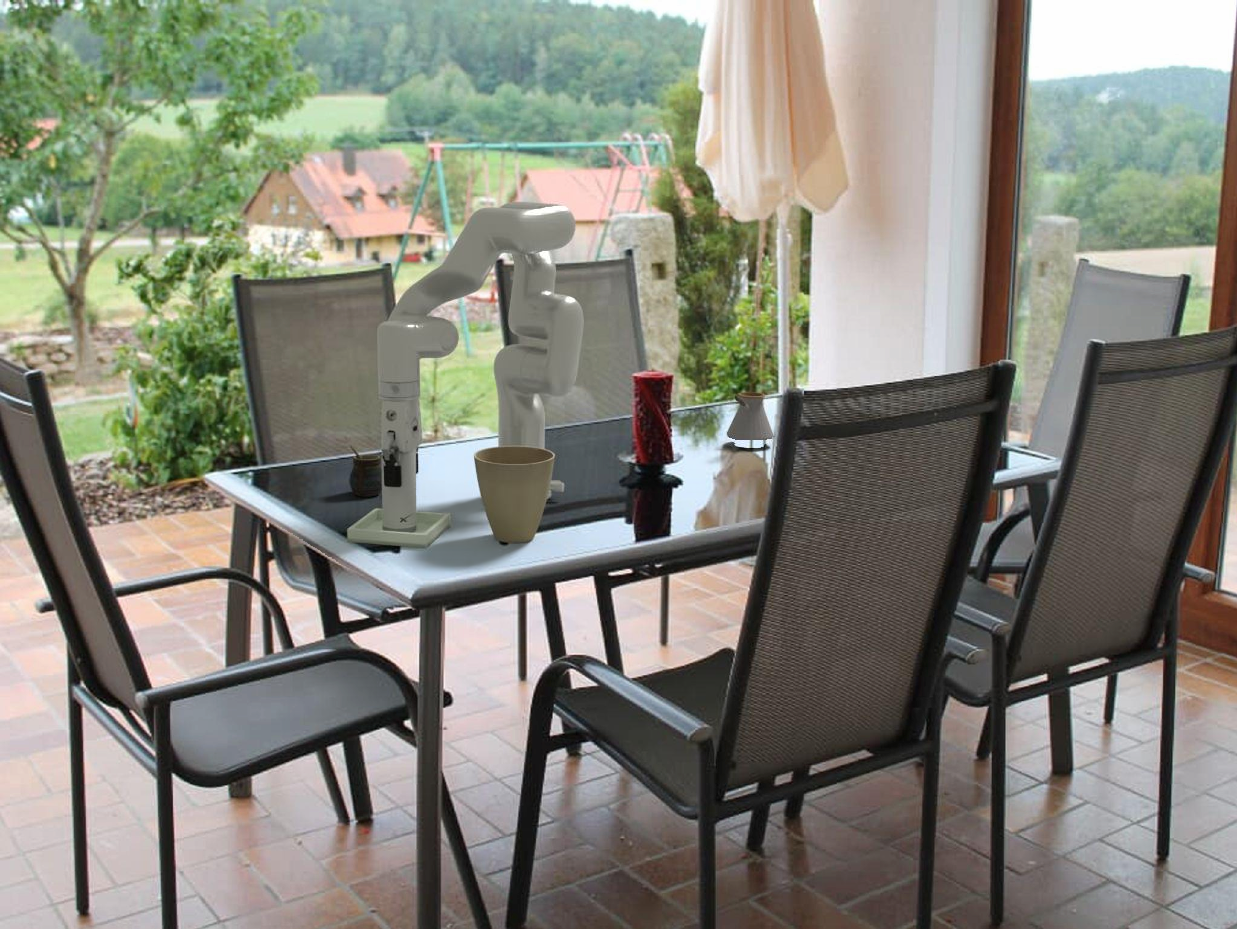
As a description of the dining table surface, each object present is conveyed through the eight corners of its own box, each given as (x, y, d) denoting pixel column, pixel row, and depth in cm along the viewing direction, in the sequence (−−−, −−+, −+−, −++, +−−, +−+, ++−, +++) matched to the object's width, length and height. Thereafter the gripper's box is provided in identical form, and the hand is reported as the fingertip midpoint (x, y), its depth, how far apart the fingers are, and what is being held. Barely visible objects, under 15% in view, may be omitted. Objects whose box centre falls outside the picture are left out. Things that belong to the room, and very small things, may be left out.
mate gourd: (377, 500, 284) (377, 452, 281) (342, 497, 285) (341, 449, 283) (389, 491, 291) (389, 444, 288) (355, 488, 292) (354, 442, 290)
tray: (450, 526, 266) (450, 513, 266) (426, 547, 252) (426, 535, 251) (375, 520, 269) (375, 508, 268) (347, 541, 254) (347, 529, 254)
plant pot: (482, 524, 268) (482, 443, 264) (558, 529, 266) (560, 447, 263) (465, 546, 253) (466, 461, 250) (546, 551, 252) (548, 465, 248)
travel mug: (411, 536, 257) (410, 429, 252) (377, 533, 258) (376, 427, 253) (422, 527, 263) (422, 423, 258) (389, 524, 264) (388, 420, 259)
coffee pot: (733, 439, 351) (736, 380, 347) (777, 443, 347) (781, 384, 343) (708, 456, 331) (711, 393, 328) (755, 461, 327) (758, 398, 324)
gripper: (404, 399, 245) (406, 493, 249) (433, 381, 262) (435, 469, 266) (363, 397, 246) (366, 490, 251) (395, 379, 263) (397, 467, 267)
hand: (401, 479), depth 258 cm, fingers open, 9 cm apart
